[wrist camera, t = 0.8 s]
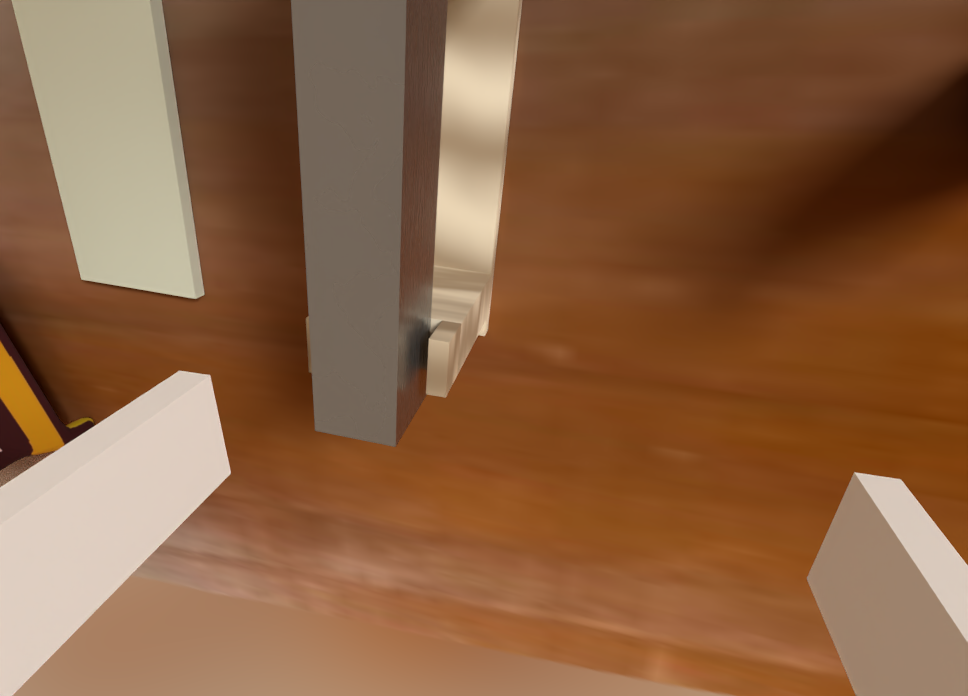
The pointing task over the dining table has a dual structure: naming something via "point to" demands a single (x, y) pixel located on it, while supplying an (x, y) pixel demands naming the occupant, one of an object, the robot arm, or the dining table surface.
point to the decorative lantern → (28, 412)
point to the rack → (469, 178)
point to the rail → (369, 204)
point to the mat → (114, 139)
